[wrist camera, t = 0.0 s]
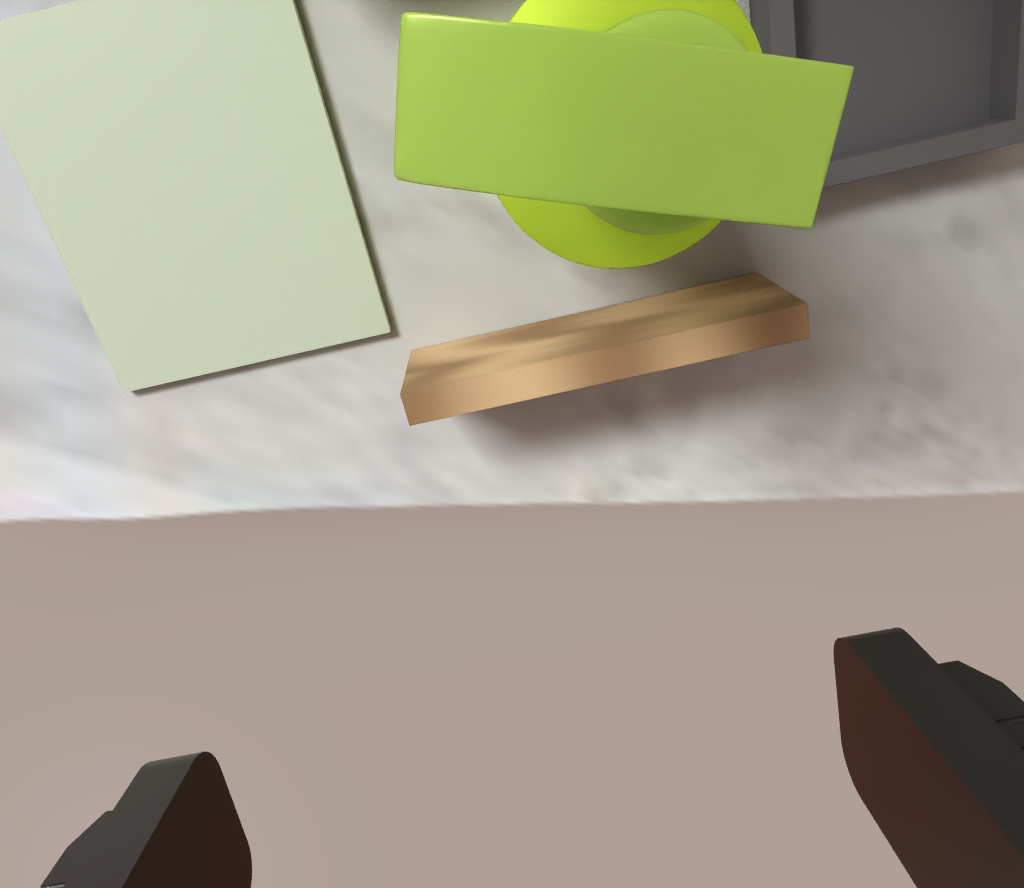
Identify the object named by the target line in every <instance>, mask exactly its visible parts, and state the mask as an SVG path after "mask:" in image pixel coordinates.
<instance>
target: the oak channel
mask: <svg viewBox="0 0 1024 888" xmlns="http://www.w3.org/2000/svg"><path fill="white" fill-rule="evenodd" d="M806 338H809V323H808V305H807V303H805V302H804V301H802V300H800V299H799V298H797V297H796V296H794V295H792V294H791V293H789V292H787V291H786V290H784V289H783V288H781V287H779V286H778V285H776V284H774V283H773V282H771V281H770V280H768V279H766V278H765V277H763V276H761V275H760V274H758V273H753V274H749V275H744V276H740V277H736V278H731V279H727V280H722V281H718V282H713V283H709V284H704V285H700V286H696V287H691V288H687V289H682V290H678V291H673V292H669V293H665V294H660V295H656V296H651V297H647V298H642V299H638V300H634V301H629V302H625V303H620V304H616V305H611V306H607V307H602V308H598V309H594V310H589V311H585V312H580V313H576V314H571V315H567V316H563V317H558V318H554V319H549V320H545V321H540V322H536V323H531V324H527V325H523V326H518V327H514V328H509V329H505V330H500V331H496V332H492V333H487V334H483V335H478V336H474V337H469V338H465V339H460V340H456V341H452V342H447V343H443V344H438V345H434V346H429V347H425V348H421V349H416V350H412V351H411V354H410V358H409V362H408V366H407V370H406V374H405V378H404V382H403V386H402V390H401V393H400V395H401V399H402V402H403V405H404V409H405V412H406V415H407V419H408V422H409V425H410V426H411V425H416V424H420V423H425V422H429V421H434V420H439V419H443V418H448V417H452V416H457V415H461V414H466V413H470V412H475V411H479V410H484V409H488V408H493V407H498V406H502V405H507V404H511V403H516V402H520V401H525V400H529V399H534V398H538V397H543V396H547V395H552V394H557V393H561V392H566V391H570V390H575V389H579V388H584V387H588V386H593V385H597V384H602V383H606V382H611V381H615V380H620V379H625V378H629V377H634V376H638V375H643V374H647V373H652V372H656V371H661V370H665V369H670V368H674V367H679V366H684V365H688V364H693V363H697V362H702V361H706V360H711V359H715V358H720V357H724V356H729V355H733V354H738V353H743V352H747V351H752V350H756V349H761V348H765V347H770V346H774V345H779V344H783V343H788V342H792V341H797V340H801V339H806Z"/></svg>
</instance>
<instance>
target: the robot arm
mask: <svg viewBox="0 0 1024 888" xmlns="http://www.w3.org/2000/svg"><path fill="white" fill-rule="evenodd" d="M834 664H835V676H836V686H837V698H838V709H839V721H840V732H841V742H842V748H843V753H844V757H845V761H846V764H847V767H848V770H849V773H850V776H851V778H852V781H853V783H854V786H855V788H856V790H857V792H858V794H859V795H860V797H861V799H862V800H863V802H864V804H865V805H866V807H867V808H868V810H869V811H870V813H871V815H872V816H873V818H874V820H875V821H876V823H877V824H878V826H879V828H880V829H881V831H882V832H883V834H884V835H885V837H886V839H887V840H888V842H889V843H890V845H891V846H892V848H893V850H894V851H895V853H896V855H897V856H898V858H899V859H900V861H901V863H902V864H903V866H904V867H905V869H906V871H907V872H908V874H909V875H910V877H911V879H912V880H913V882H914V883H915V885H916V887H917V888H1024V702H1023V701H1022V700H1021V699H1020V698H1019V697H1018V696H1017V695H1016V694H1015V693H1013V692H1012V691H1011V690H1010V689H1009V688H1008V687H1007V686H1006V685H1005V684H1004V683H1002V682H1000V681H998V680H996V679H994V678H992V677H990V676H988V675H986V674H984V673H982V672H980V671H978V670H976V669H974V668H972V667H970V666H968V665H966V664H964V663H962V662H960V661H952V662H947V663H941V664H938V663H937V662H936V661H935V660H934V659H932V657H930V655H929V654H928V653H927V652H926V651H925V650H924V649H923V648H922V647H921V646H920V645H919V644H918V643H917V642H916V641H915V640H914V639H913V638H912V637H911V636H910V635H909V634H908V633H907V632H906V631H904V630H903V629H901V628H892V629H886V630H881V631H875V632H870V633H865V634H859V635H853V636H848V637H843V638H838V639H837V640H836V641H835V644H834ZM251 880H252V860H251V853H250V848H249V844H248V841H247V838H246V836H245V833H244V830H243V828H242V825H241V822H240V819H239V817H238V814H237V811H236V809H235V806H234V803H233V800H232V798H231V795H230V793H229V790H228V787H227V784H226V782H225V779H224V776H223V773H222V771H221V768H220V765H219V763H218V761H217V760H216V758H215V757H214V756H213V755H212V754H211V753H209V752H201V753H195V754H190V755H185V756H179V757H174V758H169V759H162V760H157V761H151V762H148V763H146V764H145V765H144V766H142V767H141V769H140V770H139V771H138V773H137V774H136V776H135V777H134V779H133V780H132V782H131V783H130V785H129V787H128V788H127V790H126V791H125V793H124V794H123V796H122V797H121V799H120V800H119V802H118V803H117V805H116V806H115V808H114V810H112V811H107V812H105V813H104V814H103V815H102V816H101V817H100V818H98V819H97V820H96V821H95V822H94V823H93V824H92V825H91V826H90V827H89V828H88V829H87V830H86V831H84V832H83V833H82V834H81V835H80V836H79V837H78V838H77V839H76V840H75V841H74V842H72V843H71V844H70V845H69V846H68V847H67V849H66V850H65V851H64V853H63V854H62V856H61V857H60V859H59V860H58V862H57V863H56V864H55V866H54V867H53V869H52V870H51V872H50V873H49V875H48V876H47V878H46V879H45V880H44V882H43V883H42V885H41V888H251Z"/></svg>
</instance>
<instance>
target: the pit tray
mask: <svg viewBox="0 0 1024 888" xmlns="http://www.w3.org/2000/svg"><path fill="white" fill-rule="evenodd" d="M749 4H750V17H751V26H752V28H753V30H754V32H755V35H756V37H757V39H758V42H759V45H760V47H761V51H762V53H763V54H770V55H778V56H785V57H792V58H799V59H806V60H813V61H821V62H828V63H835V64H842V65H849V66H853V67H854V70H853V74H852V78H851V82H850V86H849V90H848V93H847V97H846V101H845V105H844V109H843V112H842V116H841V120H840V124H839V128H838V132H837V135H836V139H835V143H834V147H833V151H832V154H831V158H830V162H829V166H828V170H827V173H826V177H825V181H824V185H823V188H824V187H829V186H833V185H837V184H842V183H846V182H850V181H855V180H859V179H863V178H868V177H872V176H876V175H881V174H885V173H889V172H894V171H898V170H902V169H907V168H911V167H916V166H920V165H924V164H929V163H933V162H937V161H942V160H946V159H950V158H955V157H959V156H963V155H968V154H972V153H976V152H981V151H985V150H989V149H994V148H998V147H1002V146H1007V145H1011V144H1016V143H1020V142H1024V0H749Z"/></svg>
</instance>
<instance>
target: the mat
mask: <svg viewBox="0 0 1024 888" xmlns="http://www.w3.org/2000/svg"><path fill="white" fill-rule="evenodd" d="M0 127H1V129H2V132H3V134H4V136H5V138H6V140H7V142H8V145H9V147H10V149H11V151H12V153H13V155H14V158H15V160H16V162H17V164H18V166H19V168H20V170H21V173H22V175H23V177H24V179H25V181H26V183H27V186H28V188H29V190H30V192H31V194H32V196H33V199H34V201H35V203H36V205H37V207H38V209H39V211H40V214H41V216H42V218H43V220H44V222H45V224H46V227H47V229H48V231H49V233H50V235H51V237H52V240H53V242H54V244H55V246H56V248H57V250H58V252H59V255H60V257H61V259H62V261H63V263H64V265H65V268H66V270H67V272H68V274H69V276H70V278H71V281H72V283H73V285H74V287H75V289H76V291H77V294H78V296H79V298H80V300H81V302H82V304H83V306H84V309H85V311H86V313H87V315H88V317H89V319H90V322H91V324H92V326H93V328H94V330H95V332H96V335H97V337H98V339H99V341H100V343H101V345H102V347H103V350H104V352H105V354H106V356H107V358H108V360H109V363H110V365H111V367H112V369H113V371H114V373H115V376H116V378H117V380H118V382H119V384H120V386H121V388H122V391H123V393H125V392H129V391H134V390H138V389H142V388H147V387H151V386H156V385H160V384H164V383H169V382H173V381H178V380H182V379H186V378H191V377H195V376H200V375H204V374H208V373H213V372H217V371H222V370H226V369H231V368H235V367H239V366H244V365H248V364H253V363H257V362H261V361H266V360H270V359H275V358H279V357H283V356H288V355H292V354H297V353H301V352H305V351H310V350H314V349H319V348H323V347H327V346H332V345H336V344H341V343H345V342H349V341H354V340H358V339H363V338H367V337H372V336H376V335H380V334H385V333H389V332H391V326H390V323H389V319H388V316H387V313H386V309H385V306H384V302H383V299H382V296H381V292H380V289H379V285H378V282H377V279H376V275H375V272H374V268H373V265H372V262H371V258H370V255H369V251H368V248H367V245H366V241H365V238H364V234H363V231H362V228H361V224H360V221H359V217H358V214H357V211H356V207H355V204H354V200H353V197H352V194H351V190H350V187H349V183H348V180H347V177H346V173H345V170H344V166H343V163H342V160H341V156H340V153H339V149H338V146H337V143H336V139H335V136H334V132H333V129H332V126H331V122H330V119H329V115H328V112H327V109H326V105H325V102H324V98H323V95H322V92H321V88H320V85H319V81H318V78H317V75H316V71H315V68H314V64H313V61H312V58H311V54H310V51H309V47H308V44H307V41H306V37H305V34H304V30H303V27H302V24H301V20H300V17H299V13H298V10H297V7H296V3H295V0H78V1H74V2H70V3H66V4H62V5H58V6H54V7H51V8H47V9H43V10H39V11H35V12H31V13H27V14H23V15H19V16H15V17H11V18H7V19H3V20H0Z"/></svg>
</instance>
